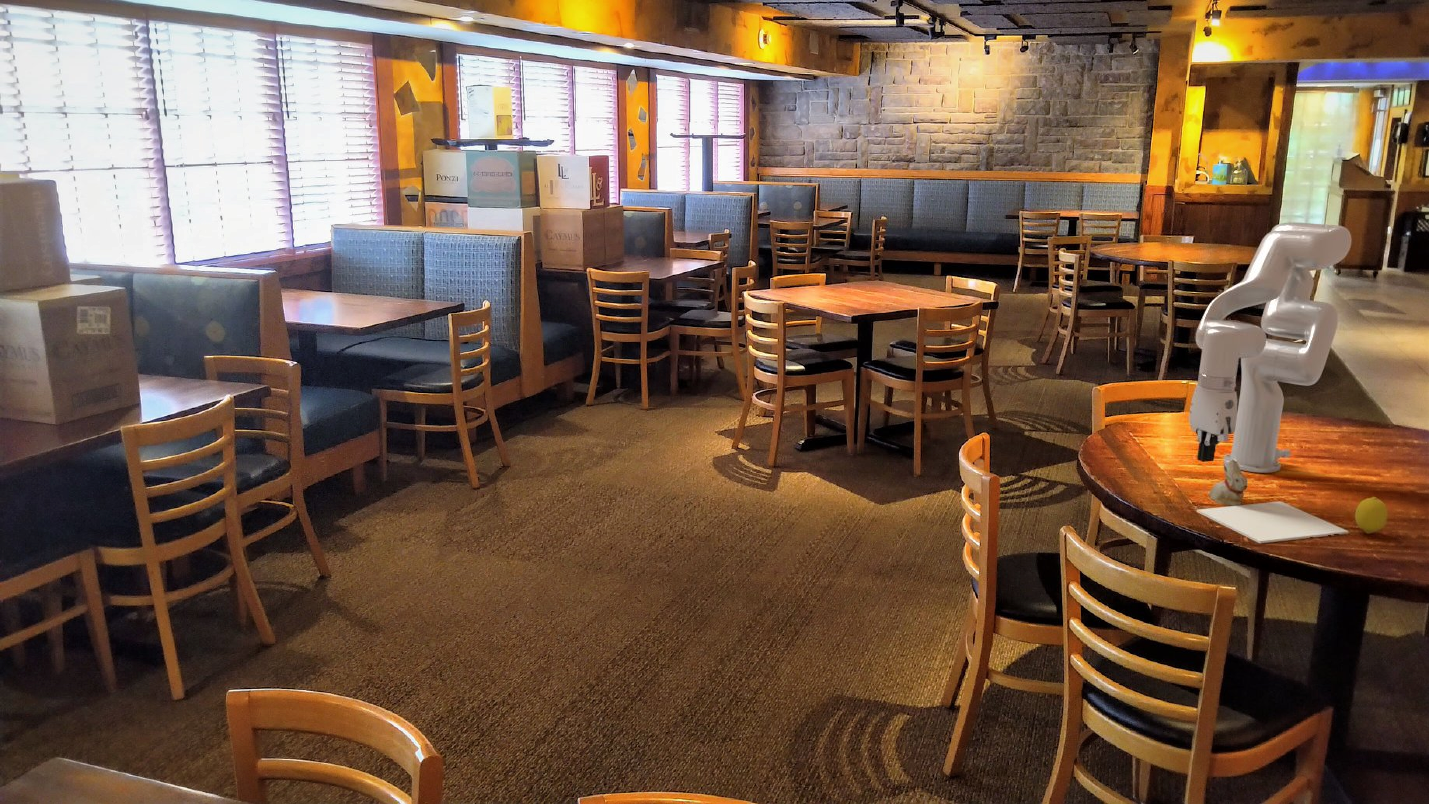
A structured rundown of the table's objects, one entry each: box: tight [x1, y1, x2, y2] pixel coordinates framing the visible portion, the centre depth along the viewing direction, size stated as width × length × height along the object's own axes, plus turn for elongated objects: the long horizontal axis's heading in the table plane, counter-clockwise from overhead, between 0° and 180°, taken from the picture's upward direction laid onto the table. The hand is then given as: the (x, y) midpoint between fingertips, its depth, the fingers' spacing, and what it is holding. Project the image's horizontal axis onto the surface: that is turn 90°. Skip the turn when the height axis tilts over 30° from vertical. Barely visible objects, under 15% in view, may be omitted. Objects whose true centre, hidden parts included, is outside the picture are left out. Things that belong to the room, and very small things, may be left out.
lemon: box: [1354, 496, 1388, 535], centre depth 211 cm, size 6×6×8 cm
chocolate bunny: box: [1208, 460, 1248, 507], centre depth 228 cm, size 6×8×10 cm
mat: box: [1196, 501, 1349, 544], centre depth 217 cm, size 22×18×1 cm
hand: (1205, 460), depth 235 cm, fingers closed
